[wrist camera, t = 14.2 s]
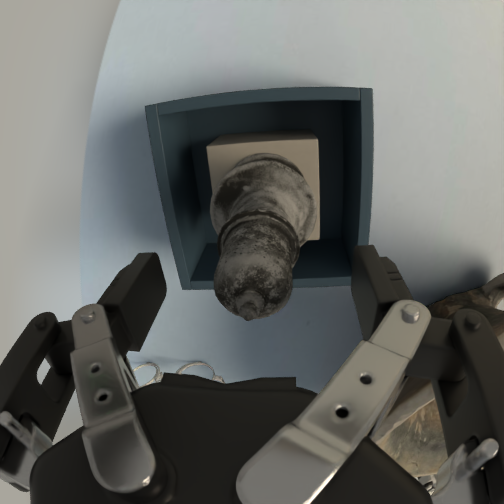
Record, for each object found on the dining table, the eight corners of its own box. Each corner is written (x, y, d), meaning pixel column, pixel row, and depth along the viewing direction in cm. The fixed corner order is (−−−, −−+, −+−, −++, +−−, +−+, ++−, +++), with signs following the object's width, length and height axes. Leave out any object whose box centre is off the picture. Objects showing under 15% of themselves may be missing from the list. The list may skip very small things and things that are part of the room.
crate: (201, 246, 29) (182, 290, 23) (178, 100, 23) (144, 106, 17) (348, 241, 28) (363, 285, 22) (348, 88, 21) (372, 88, 15)
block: (230, 216, 26) (220, 243, 22) (220, 134, 23) (205, 146, 19) (313, 212, 26) (319, 240, 21) (310, 129, 22) (318, 139, 18)
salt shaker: (307, 235, 21) (325, 379, 11) (222, 231, 22) (172, 367, 11) (314, 150, 18) (358, 241, 8) (220, 147, 19) (143, 230, 8)
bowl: (490, 176, 22) (594, 254, 10) (539, 311, 30) (584, 382, 17) (298, 336, 34) (299, 458, 21) (405, 409, 41) (421, 488, 28)
